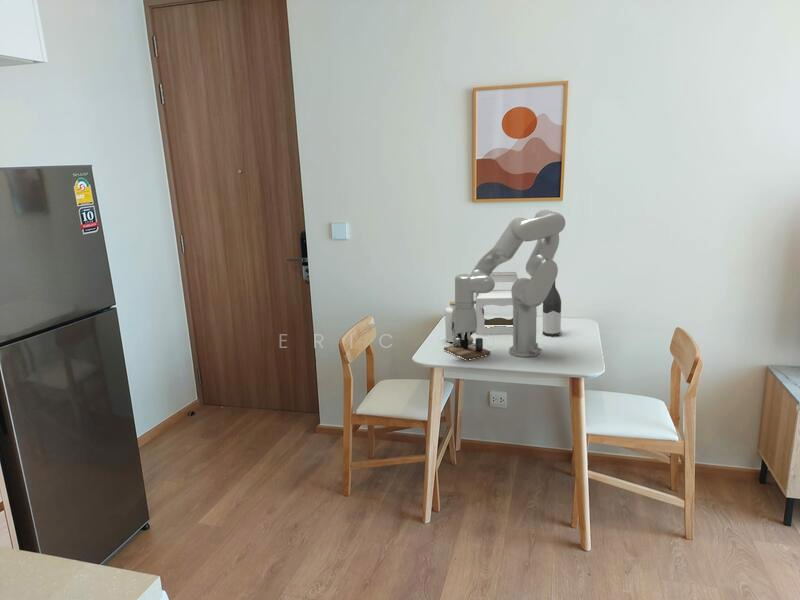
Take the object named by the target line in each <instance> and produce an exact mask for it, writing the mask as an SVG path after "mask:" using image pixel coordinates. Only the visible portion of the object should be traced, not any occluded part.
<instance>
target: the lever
mask: <svg viewBox="0 0 800 600" xmlns="http://www.w3.org/2000/svg"><path fill="white" fill-rule="evenodd" d="M452 344H453V345H455V346H460V338H459V337H458V338H456V337H453V343H452ZM475 344H476V347H475V346H471V345H469V340H468V348H469V349H473V350H476V351H478V352H481V351H483V348H484V339H483V338H482V337H476V338H475Z"/></svg>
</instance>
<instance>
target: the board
mask: <svg viewBox="0 0 800 600" xmlns="http://www.w3.org/2000/svg"><path fill="white" fill-rule="evenodd" d="M456 338H458V336H456ZM468 340H469V345H471V346H475V347H476V342H475V343H474V338H473V337H472V335H471V336H470V338H469V339H468ZM444 350H446V351H449V352H451V353H453V354H455V355H457V356H460V357H462V358H464V359H466V360H469V359H473V358H476V359H478V358H477V357H480V358H482V357H481V356H484V357H486V356H485V355H487V356H490V355H491V350H489V349H486V348H484V347H483V351H481V352H478V351H476V350H473V349H469V348H468V349H463V348H462V347H461V346H455V345H449V346H444V347H443V351H444ZM446 351H445V352H446ZM489 354H490V355H489ZM457 356H456V357H457ZM473 360H474V359H473ZM469 361H470V360H469Z"/></svg>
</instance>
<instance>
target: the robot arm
mask: <svg viewBox="0 0 800 600" xmlns="http://www.w3.org/2000/svg"><path fill="white" fill-rule="evenodd" d="M565 227H566V219H565V217H564V215H562V214H561V213H560V212H557V211H552V210H549V209H547V210H546V209H543V210H538V212H536V213H535V215H534V217H533V218H529V219H528V218H526V217H525V218H523V217H516V218H513V219H512V220H511V221H510V223H509V224H508V225H507V227H506V228H505V230H504V231H503V233H502V234H501V236H500V237H499V239H498V240H497V241H496V243H495V245H494V246H493V247H492V248H491V249H490V250H489V251H487V252H486V254H485V255H483V256H482V257H481V258H480V259H479V260H478V262H477V264H476V265H475V266H474V268H473V269H472V271H471V273H469V274H467V273H461V274H457V275H456V276H455V277H454V302H455V308H453V311H452V317H451V330H452V335H453V336H458V337H459V338H460V346H461V347H462V348H463V349H468V339H469V338H470V336H471V337H472V335H473V334H476V332H477V331H476V329H477V316H476V306H475V305H476V300H474V299H475V298H474V297H475V296H474V294H475V293H488V292H490V291H492V290H494V288H495V286H496V285H495V284H496V282H494V280H493V278H492V277H491V276H490V274H491V273H492V272H493V271H494V270H495V269H496V268H497V267H498V266H500V265H502V264H504V263H507V262H509V261H511V259H512V258H513V257H514V256H515V255H516V253H517V251H518V250H519V248H520V247H521V246H522V244H523V243H524V242H534V241H536V244H535V246H534V247H533V249H532V252H531V254H530V255H529V258H528V260H527V262H526V263H525V271H526V273H527V274H528V275H529V276H530V278H527V277H521V278H518V280H516V281H515V282H513V284H512V286H511V290H512V291H511V292H512V301H513V305H512V318H513V334H512V346H511V347H509V348H508V352H509V353H510V354H511V355H513V356H516V357H520V358H523V357H525V358H529V357H535V356H537V355H540V353H541V352H542V351H543V349H542V348H541V347H539V344H538V343H537V315H538V312H537V307H539V306H540V305H543V302H544V300H545V299H546V297H547V295H548V293H549V291H550V289H551V287H552V285H553V283H554V281H555V282H556V280H557V276H558V274H559V273H558V272H559V267H558V264H557V263H556V261H555V260H554V257H555V256H556V253H557V251H558V248H559V244H560V233H561V232H562V231H564V229H565Z"/></svg>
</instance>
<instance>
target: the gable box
mask: <svg viewBox="0 0 800 600" xmlns="http://www.w3.org/2000/svg"><path fill="white" fill-rule="evenodd" d="M490 276H491V277H492V278H493V280H494V282H495V283H514V282H515V281H516V280H518V279H519V278H518V273H517V272H516V271H503V272H502V271H501V272H500V271H497V272H493V271H492V273H491V274H490ZM511 291H512V289H493V290H492V291H490V292H488V293H474V294H475V296H474V297H475V301H476V304H475V310H476V316H477V329H476V331H477V332H476V333H477V334H476V333H475V334H476V335H513V327H506V326H494V327H490V328H487V327H485V326H484V325H513V317H512V318H509V319H508V318H504V317H493V318H489V319H487V318H485V316H484V315H485V310H484V307H485V306H490V305H491V306H492V305H493V306H498V307H499V306H500V307H505V306H513V301H512V292H511Z"/></svg>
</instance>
